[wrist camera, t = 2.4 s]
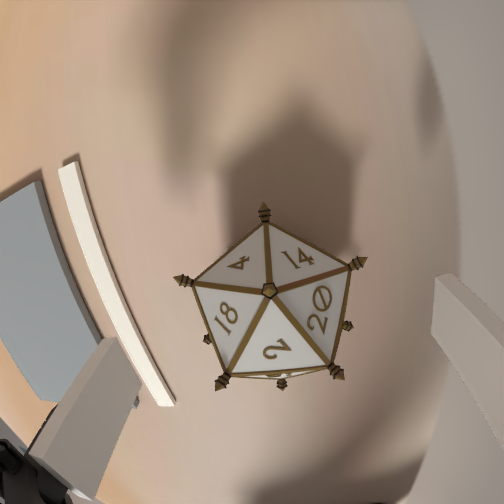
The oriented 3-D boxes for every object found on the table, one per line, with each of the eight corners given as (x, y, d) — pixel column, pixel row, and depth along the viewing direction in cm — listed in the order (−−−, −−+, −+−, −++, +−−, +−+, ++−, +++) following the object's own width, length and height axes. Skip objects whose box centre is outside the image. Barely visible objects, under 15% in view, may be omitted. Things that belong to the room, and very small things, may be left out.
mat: (139, 402, 23) (136, 408, 22) (43, 395, 24) (40, 399, 24) (40, 180, 16) (33, 181, 16) (-38, 230, 18) (-43, 232, 17)
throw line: (176, 401, 22) (174, 406, 22) (160, 402, 23) (159, 406, 22) (78, 161, 16) (73, 161, 16) (62, 168, 16) (57, 169, 16)
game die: (257, 229, 21) (234, 138, 11) (366, 289, 19) (431, 236, 9) (187, 339, 19) (103, 329, 10) (297, 407, 17) (308, 467, 8)
